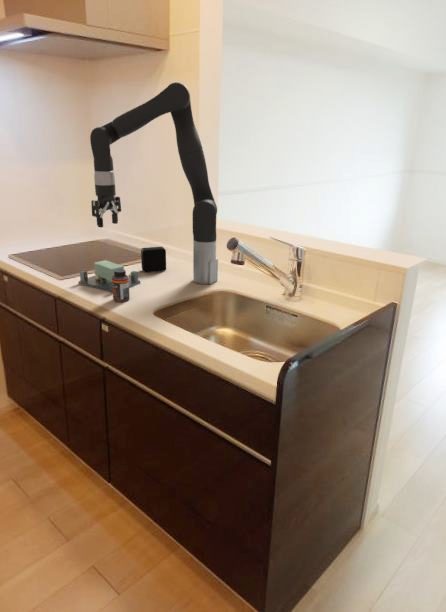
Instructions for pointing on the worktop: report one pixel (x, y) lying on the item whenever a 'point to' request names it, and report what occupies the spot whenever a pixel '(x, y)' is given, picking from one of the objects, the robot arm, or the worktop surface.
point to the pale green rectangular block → (106, 269)
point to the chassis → (104, 281)
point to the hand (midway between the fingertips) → (107, 225)
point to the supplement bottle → (120, 286)
